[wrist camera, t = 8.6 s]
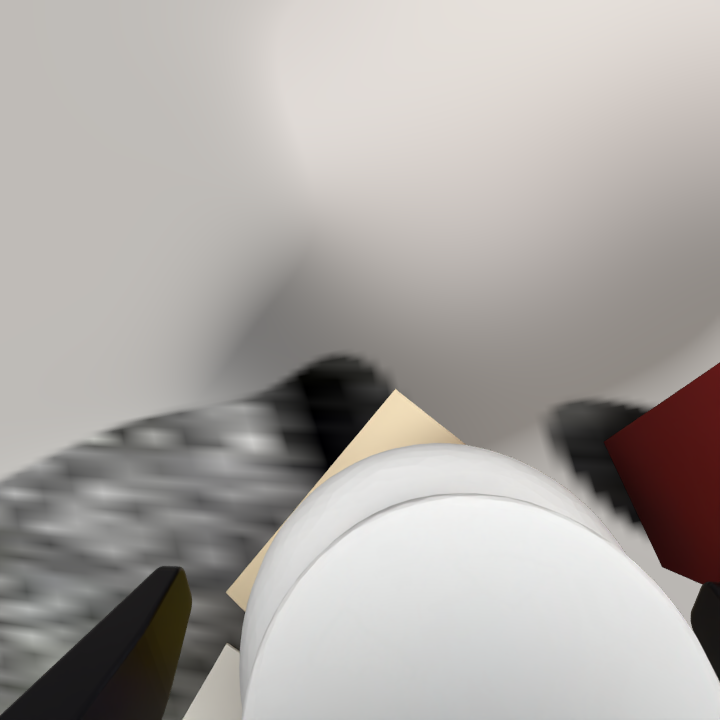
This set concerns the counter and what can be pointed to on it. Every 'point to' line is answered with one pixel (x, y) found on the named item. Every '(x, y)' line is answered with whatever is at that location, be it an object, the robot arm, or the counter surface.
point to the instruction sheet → (219, 690)
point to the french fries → (677, 476)
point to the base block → (382, 432)
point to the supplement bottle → (461, 604)
